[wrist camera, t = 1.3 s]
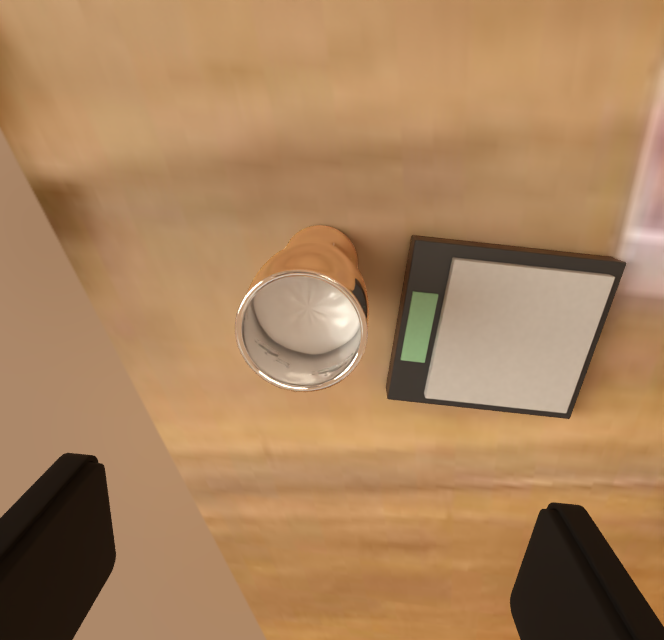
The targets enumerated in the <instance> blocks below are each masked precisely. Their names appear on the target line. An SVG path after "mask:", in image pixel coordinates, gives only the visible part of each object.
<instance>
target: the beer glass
mask: <svg viewBox="0 0 664 640" xmlns="http://www.w3.org/2000/svg"><path fill="white" fill-rule="evenodd" d="M357 267H358V258H357V253H356V250H355V248H354V245H353V244H352V242H351V241H350V239H349V238H348V237H347V236H346V235H345V234H344V233H342V232H341V231H339V230H337V229H335V228H333V227H330V226H324V225H315V226H310V227H307V228H304V229H302V230H300V231H299V232H297V233H296V234H295V235H294V236H293V237H292V238H291V239H290V241H289V242H288V244H287V246H286V248H285V249H283V250H281V251H279V252H278V253H276V254H275V255H273V256H272V257H271V258H270V259H269V260H268V261H267V262H266V263H265V264H264V265H263V266H262V268H261V269H260V270H259V271H258V273H257V274H256V276H255V278H254V279H253V281H252V283H251V284H250V286H249V289H248V291H247V293H246V295H245V297H244V299H243V300H242V302H241V304H240V306H239V309H238V312H237V316H236V322H235V335H236V341H237V344H238V347H239V350H240V352H241V355H242V356H243V358H244V360H245V361H246V363H247V364H248V365H249V367H250V368H251V369H252V370H253V371H254V372H255V373H256V374H257V375H258V376H260V377H261V378H262V379H264V380H265V381H267V382H268V383H270V384H272V385H274V386H277V387H279V388H282V389H286V390H290V391H297V392H312V391H318V390H322V389H326V388H329V387H331V386H333V385H335V384H337V383H339V382H341V381H342V380H343V379H345V378H346V377H347V376H348V375H349V374H351V373H352V372H353V370H354V369H355V368H356V367H357V365H358V364H359V362H360V360H361V358H362V356H363V354H364V351H365V348H366V344H367V336H368V330H367V329H368V319H369V303H368V295H367V291H366V286H365V283H364V280H363V277H362V275H361V273H360V272H359V270H358V268H357Z"/></svg>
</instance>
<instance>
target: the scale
mask: <svg viewBox="0 0 664 640" xmlns="http://www.w3.org/2000/svg"><path fill="white" fill-rule="evenodd" d="M625 266H626V263H625V262H623V261H620V260H618V259H615V258H613V257H607V256H598V255H589V254H580V253H571V252H561V251H552V250H543V249H534V248H525V247H516V246H506V245H497V244H488V243H479V242H470V241H461V240H451V239H442V238H433V237H424V236H415V235H412V237H411V243H410V249H409V255H408V260H407V266H406V272H405V278H404V284H403V290H402V296H401V301H400V307H399V313H398V319H397V325H396V331H395V337H394V343H393V348H392V354H391V360H390V366H389V372H388V378H387V384H386V391H387V398H388V399H392V400H401V401H410V402H419V403H428V404H437V405H447V406H456V407H465V408H474V409H483V410H493V411H502V412H511V413H520V414H529V415H538V416H548V417H557V418H566V419H570V416H571V414H572V411H573V408H574V406H575V403H576V400H577V397H578V395H579V392H580V389H581V386H582V384H583V381H584V378H585V375H586V373H587V370H588V367H589V364H590V362H591V359H592V356H593V353H594V351H595V348H596V345H597V342H598V340H599V337H600V334H601V332H602V329H603V326H604V323H605V321H606V318H607V315H608V312H609V310H610V307H611V304H612V301H613V299H614V296H615V293H616V290H617V288H618V285H619V282H620V279H621V277H622V274H623V271H624V269H625Z"/></svg>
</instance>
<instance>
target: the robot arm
mask: <svg viewBox="0 0 664 640" xmlns="http://www.w3.org/2000/svg"><path fill="white" fill-rule="evenodd" d="M115 558H116V551H115V543H114V535H113V528H112V520H111V512H110V505H109V497H108V489H107V482H106V474H105V468H104V465H103V464H100V463H98V460H97V458H96V457H95V456H93V455H84V454H83V455H82V454H73V453H66V454H63V455H62V456H61V457H59V459H58V460H57V461H56V462H55V463H54V464H53V465H52V466H51V467H50V468H49V469H48V470H47V471H46V472H45V473H44V474H43V475H42V476H41V477H40V478H39V479H38V480H37V481H36V482H35V483H34V484H33V485H32V486H31V487H30V488H29V489H28V490H27V491H26V492H25V493H24V494H23V495H22V496H21V498H20V499H19V500H18V501H17V502H16V503H15V504H14V505H13V506H12V507H11V508H10V509H9V510H8V511H7V512H6V513H5V514H4V515H3V516H2V517H1V518H0V640H72V639H73V638H74V636H75V634H76V632H77V631H78V629H79V627H80V626H81V624H82V622H83V620H84V618H85V617H86V615H87V613H88V612H89V610H90V608H91V606H92V605H93V603H94V601H95V600H96V598H97V596H98V594H99V593H100V591H101V589H102V587H103V586H104V584H105V582H106V581H107V579H108V577H109V575H110V574H111V572H112V569H113V567H114V563H115ZM510 607H511V613H512V616H513V619H514V622H515V625H516V628H517V631H518V633H519V636H520V639H521V640H664V627H663V625H662V624H661V622H660V621H659V619H658V618H657V616H656V615H655V613H654V612H653V610H652V609H651V607H650V606H649V604H648V603H647V601H646V600H645V598H644V597H643V595H642V594H641V592H640V591H639V589H638V588H637V586H636V585H635V583H634V582H633V580H632V579H631V577H630V576H629V574H628V573H627V571H626V570H625V568H624V567H623V565H622V564H621V562H620V561H619V559H618V558H617V556H616V555H615V553H614V552H613V550H612V548H611V547H610V545H609V544H608V542H607V541H606V539H605V538H604V536H603V535H602V533H601V532H600V530H599V529H598V527H597V526H596V524H595V523H594V521H593V520H592V518H591V517H590V515H589V514H588V512H587V511H586V510H585V509H584V507H582V506H580V505H573V504H563V503H550V504H549V505H548V507H547V509H542V510H541V511H540V513H539V515H538V518H537V521H536V524H535V527H534V529H533V532H532V535H531V538H530V541H529V544H528V547H527V550H526V553H525V556H524V558H523V561H522V564H521V567H520V570H519V573H518V576H517V579H516V582H515V584H514V587H513V590H512V593H511V597H510Z"/></svg>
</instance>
